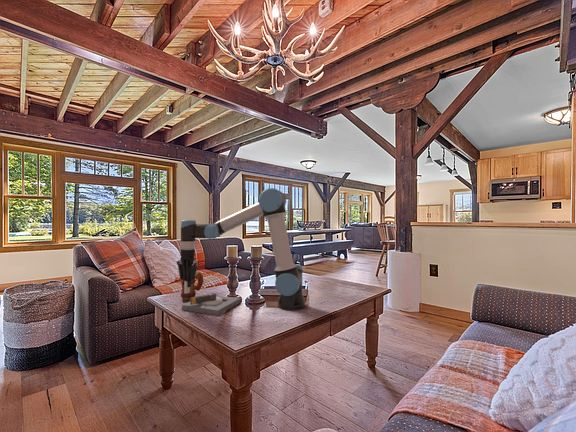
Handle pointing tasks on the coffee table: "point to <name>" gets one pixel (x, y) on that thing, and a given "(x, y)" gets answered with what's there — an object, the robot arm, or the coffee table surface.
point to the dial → (207, 300)
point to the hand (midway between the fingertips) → (186, 292)
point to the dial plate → (227, 304)
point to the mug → (192, 287)
